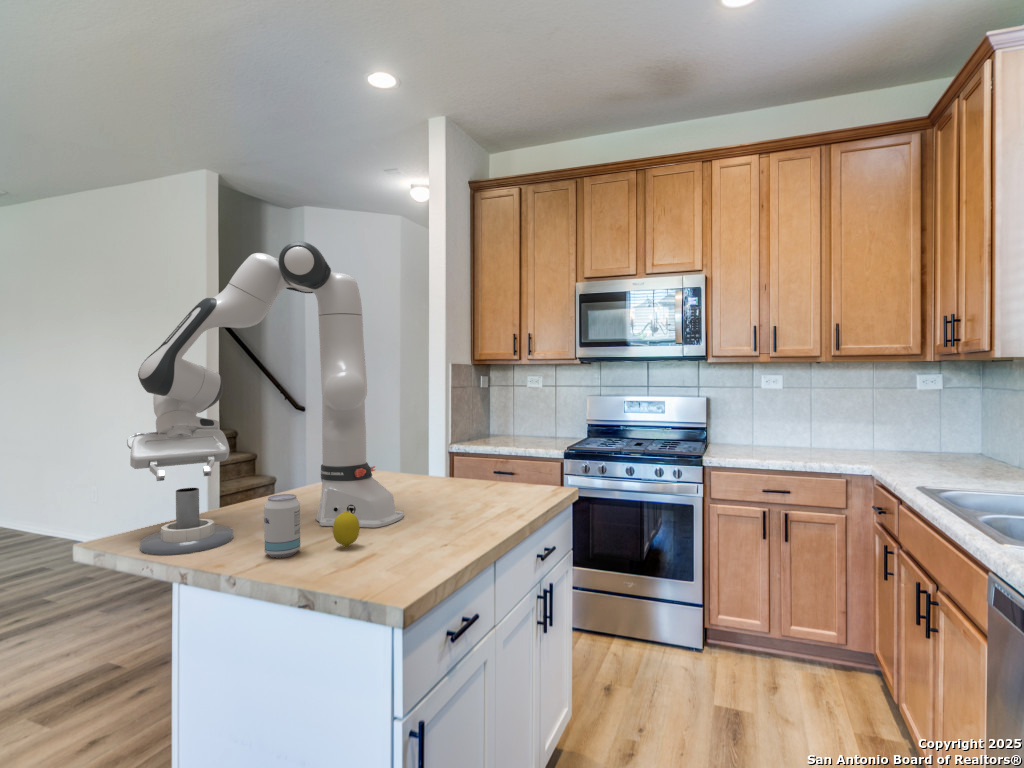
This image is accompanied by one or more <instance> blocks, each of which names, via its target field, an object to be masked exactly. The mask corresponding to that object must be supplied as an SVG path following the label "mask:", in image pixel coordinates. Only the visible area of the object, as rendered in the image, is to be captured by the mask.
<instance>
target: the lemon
mask: <svg viewBox="0 0 1024 768" xmlns="http://www.w3.org/2000/svg"><path fill="white" fill-rule="evenodd" d="M332 535H333V538H334V540H335V541H336V543H338V545H341V546H343V547H344V548H348V547H350V545H352V544H354V543H355V542H356V541H357V539H358V538H359V535H360V527H359V522H358V519H357V517H356V516H355V515H354V514H352V513H350V512H348V511H344V513H341V514H340V515H338V516H337V518H336V519H335V521H334V525H333V526H332Z"/></svg>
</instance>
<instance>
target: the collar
mask: <svg viewBox="0 0 1024 768" xmlns="http://www.w3.org/2000/svg"><path fill="white" fill-rule="evenodd" d="M233 539H234V530H233V528H232V527H229V526H226V525H220V524H218V525H217V524H215V521H214V520H212V519H208V518H199V527H197V528H190V529H179V530H176V521H173V522H169V523H166V524H164V525H163V526H161V527H160V531H158V532H155V533H154V532H153V533H152V534H149V535H147V536H145V537H143V538H142V539H141V540H140V541H139V550H141V551H142V552H141V551H140V552H141V553H143V552H144V554H146V553H148V554H147V555H151V554H155V555H154V556H174V555H175V556H176V554H178V555H184V554H185V555H186V553H187V554H194V553H198V551H199V552H204V551H207V550H212V549H215V547H216V548H218V546H219V547H221V546H223V545H226V544H228V543H230V542H231V541H232V540H233ZM229 541H230V542H229ZM193 552H194V553H193Z"/></svg>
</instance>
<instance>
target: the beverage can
mask: <svg viewBox="0 0 1024 768" xmlns="http://www.w3.org/2000/svg"><path fill="white" fill-rule="evenodd" d="M263 511H264V512H263V513H264V514H263V515H264V516H263V517H264V520H263V521H264V523H263V524H264V527H263V528H264V553H265V554H267V555H269V556H270V558H274V557H276V558H275V559H281V557H282V558H287V557H291V556H294V555H295V554H296V552H298V551H299V550H301V503H300V501H299V499H298V498H297V494H293V493H282V494H281V493H280V494H275V495H274V494H273V495H270V496H268V497H267V500H266V503H265V504H264V508H263ZM278 557H279V558H278Z"/></svg>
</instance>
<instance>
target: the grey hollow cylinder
mask: <svg viewBox="0 0 1024 768" xmlns="http://www.w3.org/2000/svg"><path fill="white" fill-rule="evenodd" d="M199 519H200V488H198V487H183V488H179V489H177V490H175V522H176V530H179V529H190V528H197V527H199Z"/></svg>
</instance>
